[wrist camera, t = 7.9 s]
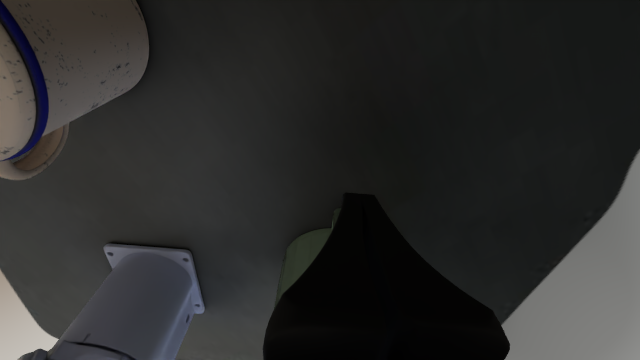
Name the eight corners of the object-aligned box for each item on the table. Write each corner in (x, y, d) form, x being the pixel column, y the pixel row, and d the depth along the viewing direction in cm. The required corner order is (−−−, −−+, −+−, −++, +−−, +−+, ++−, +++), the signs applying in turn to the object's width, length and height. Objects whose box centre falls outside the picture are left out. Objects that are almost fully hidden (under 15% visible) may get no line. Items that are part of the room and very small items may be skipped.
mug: (371, 297, 31) (381, 377, 24) (283, 290, 31) (270, 369, 24) (397, 199, 24) (420, 276, 18) (284, 190, 24) (266, 264, 18)
